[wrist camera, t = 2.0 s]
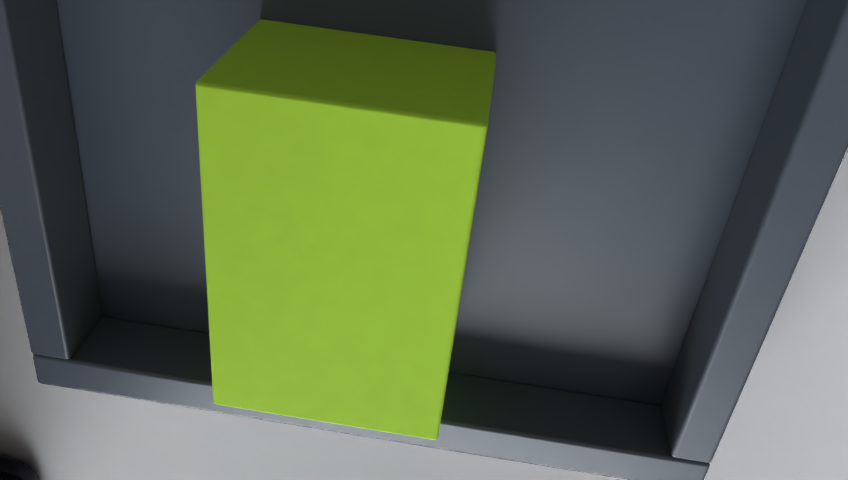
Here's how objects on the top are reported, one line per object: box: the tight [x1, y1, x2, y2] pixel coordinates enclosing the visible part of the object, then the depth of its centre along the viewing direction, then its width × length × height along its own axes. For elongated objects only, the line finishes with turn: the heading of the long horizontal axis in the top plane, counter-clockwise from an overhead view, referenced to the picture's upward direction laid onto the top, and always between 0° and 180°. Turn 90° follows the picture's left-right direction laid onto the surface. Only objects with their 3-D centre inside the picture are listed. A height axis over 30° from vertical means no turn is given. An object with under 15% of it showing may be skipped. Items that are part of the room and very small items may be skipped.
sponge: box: [195, 19, 497, 440], centre depth 13 cm, size 6×4×3 cm, turn 174°
